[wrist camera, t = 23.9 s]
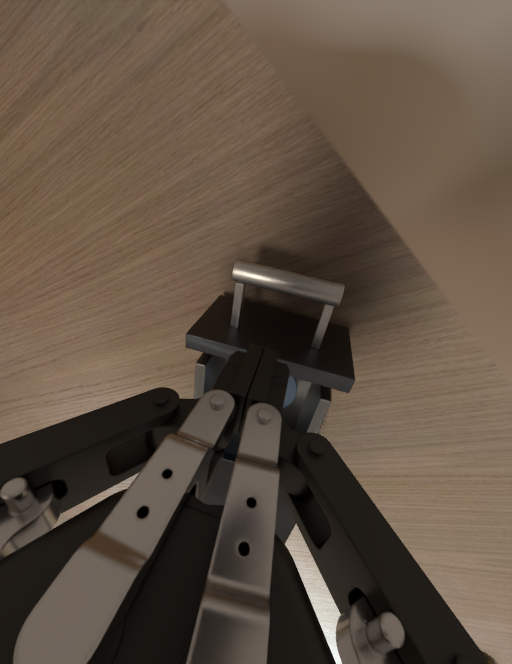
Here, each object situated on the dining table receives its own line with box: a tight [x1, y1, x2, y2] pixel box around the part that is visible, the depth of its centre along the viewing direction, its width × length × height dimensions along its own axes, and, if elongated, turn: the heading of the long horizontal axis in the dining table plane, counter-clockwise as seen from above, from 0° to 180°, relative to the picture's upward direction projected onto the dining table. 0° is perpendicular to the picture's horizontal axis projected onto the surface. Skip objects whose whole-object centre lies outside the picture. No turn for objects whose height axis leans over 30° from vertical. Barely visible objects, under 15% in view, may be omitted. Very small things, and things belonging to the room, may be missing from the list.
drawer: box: [186, 259, 355, 454], centre depth 22 cm, size 18×11×7 cm, turn 171°
